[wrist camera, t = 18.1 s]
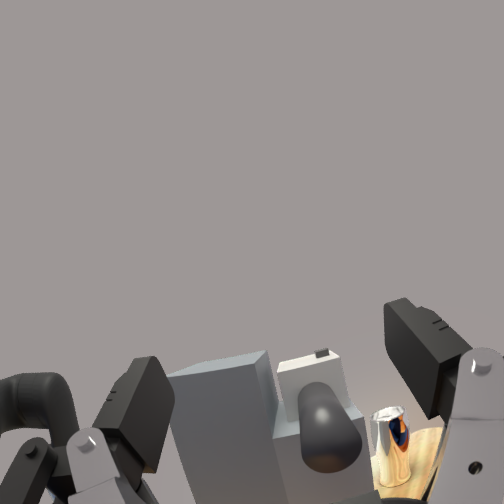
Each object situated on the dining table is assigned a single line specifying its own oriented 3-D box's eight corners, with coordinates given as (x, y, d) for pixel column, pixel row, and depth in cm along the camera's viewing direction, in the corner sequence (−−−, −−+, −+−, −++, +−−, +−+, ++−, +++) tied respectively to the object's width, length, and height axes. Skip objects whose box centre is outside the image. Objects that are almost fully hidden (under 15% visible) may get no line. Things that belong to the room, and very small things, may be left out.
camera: (284, 483, 15) (263, 395, 17) (288, 402, 37) (278, 356, 39) (386, 456, 15) (372, 367, 16) (338, 390, 37) (328, 344, 39)
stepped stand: (232, 581, 19) (158, 378, 27) (247, 527, 33) (200, 362, 42) (379, 559, 18) (348, 340, 26) (360, 507, 32) (328, 334, 40)
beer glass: (391, 467, 42) (383, 405, 46) (420, 470, 36) (414, 404, 40) (370, 485, 38) (360, 420, 42) (399, 490, 33) (393, 422, 37)
